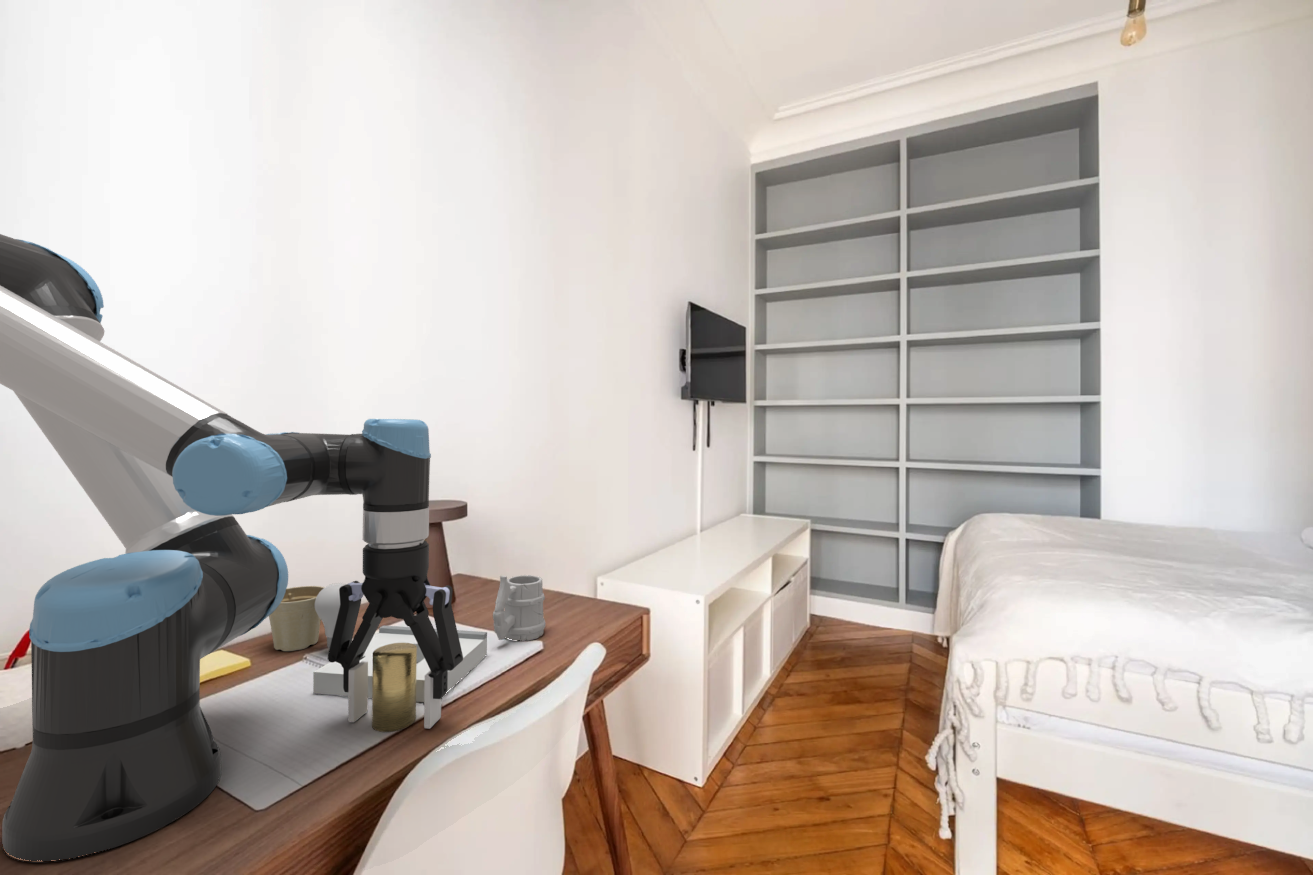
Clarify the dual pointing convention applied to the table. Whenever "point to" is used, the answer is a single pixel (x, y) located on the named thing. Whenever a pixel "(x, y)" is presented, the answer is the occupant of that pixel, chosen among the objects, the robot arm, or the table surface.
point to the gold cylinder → (394, 687)
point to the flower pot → (296, 619)
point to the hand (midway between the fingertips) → (395, 719)
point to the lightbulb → (328, 608)
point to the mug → (519, 608)
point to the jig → (472, 649)
